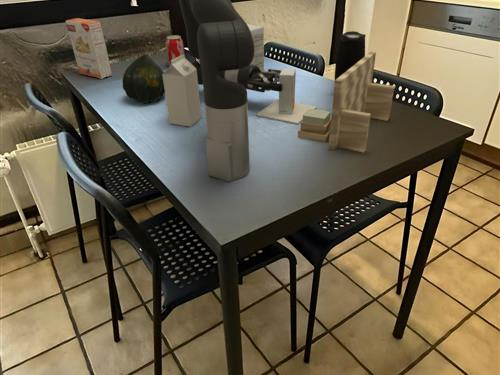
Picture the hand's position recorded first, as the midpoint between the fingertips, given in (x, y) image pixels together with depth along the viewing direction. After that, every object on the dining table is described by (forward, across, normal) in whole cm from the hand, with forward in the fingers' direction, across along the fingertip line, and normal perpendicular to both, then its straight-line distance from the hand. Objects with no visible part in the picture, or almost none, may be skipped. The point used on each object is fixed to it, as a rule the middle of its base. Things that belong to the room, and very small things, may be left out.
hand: (288, 83), depth 119 cm
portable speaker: (+11, +23, +9) cm, 27 cm away
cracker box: (-86, -2, +10) cm, 86 cm away
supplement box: (-33, +26, +9) cm, 43 cm away
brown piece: (+24, -3, +9) cm, 26 cm away
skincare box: (0, 0, +9) cm, 9 cm away
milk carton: (-24, -20, +9) cm, 33 cm away
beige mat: (0, 0, +9) cm, 9 cm away
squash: (-48, -11, +9) cm, 50 cm away
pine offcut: (+14, -11, +10) cm, 20 cm away
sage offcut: (+14, -11, +5) cm, 18 cm away
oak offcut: (+14, -11, +7) cm, 19 cm away
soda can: (-63, +23, +9) cm, 68 cm away
